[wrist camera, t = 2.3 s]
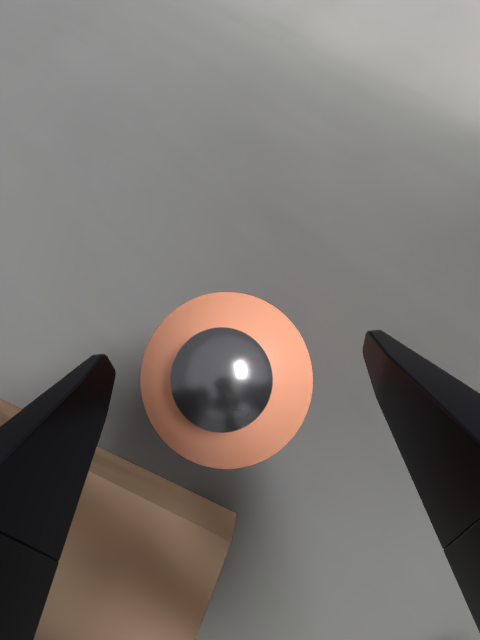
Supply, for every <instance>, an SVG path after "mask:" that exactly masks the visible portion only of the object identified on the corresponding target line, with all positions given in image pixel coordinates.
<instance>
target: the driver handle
mask: <svg viewBox="0 0 480 640" xmlns="http://www.w3.org/2000/svg"><path fill="white" fill-rule="evenodd" d="M140 381H141V394H142V400H143V404H144V407H145V411H146V413H147V415H148V418H149V420H150V422H151V424H152V426H153V427H154V429H155V431H156V432H157V433H158V435H159V436H160V437H161V439H162V440H163V441H164V442H165V443H166V444H167V445H168V446H169V447H170V448H171V449H173V450H174V451H175V452H177V453H178V454H179V455H181V456H182V457H184V458H186V459H188V460H190V461H192V462H194V463H197V464H199V465H202V466H206V467H211V468H217V469H237V468H242V467H248V466H251V465H254V464H257V463H260V462H261V461H263V460H265V459H267V458H269V457H271V456H272V455H274V454H275V453H277V452H278V451H280V450H281V449H282V448H283V447H284V446H285V445H286V444H287V443H288V442H289V441H290V440H291V439H292V437H293V436H294V435H295V434H296V433H297V431H298V429H299V428H300V426H301V424H302V423H303V421H304V418H305V416H306V414H307V411H308V408H309V405H310V401H311V396H312V389H313V373H312V364H311V360H310V356H309V353H308V350H307V347H306V345H305V342H304V340H303V339H302V337H301V335H300V333H299V332H298V330H297V329H296V327H295V326H294V325H293V323H292V322H291V321H290V320H289V319H288V318H287V317H286V316H285V315H284V314H283V313H282V312H281V311H279V310H278V309H277V308H276V307H274V306H272V305H271V304H269V303H267V302H266V301H263V300H261V299H259V298H257V297H254V296H250V295H247V294H242V293H236V292H218V293H211V294H207V295H202V296H200V297H197V298H194V299H192V300H190V301H188V302H186V303H184V304H182V305H181V306H180V307H178V308H177V309H175V310H174V311H173V312H172V313H170V314H169V315H168V316H167V317H166V318H165V319H164V320H163V322H162V323H161V324H160V325H159V326H158V328H157V329H156V331H155V332H154V334H153V335H152V337H151V339H150V341H149V343H148V345H147V348H146V351H145V354H144V357H143V362H142V366H141V376H140Z"/></svg>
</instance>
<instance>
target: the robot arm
mask: <svg viewBox="0 0 480 640" xmlns="http://www.w3.org/2000/svg"><path fill="white" fill-rule="evenodd" d="M363 356H364V360H365V363H366V366H367V370H368V373H369V376H370V379H371V383H372V386H373V389H374V392H375V395H376V398H377V400H378V403H379V405H380V407H381V410H382V412H383V414H384V416H385V419H386V421H387V423H388V425H389V428H390V430H391V432H392V435H393V437H394V439H395V441H396V444H397V446H398V448H399V450H400V453H401V455H402V457H403V459H404V462H405V464H406V466H407V469H408V471H409V473H410V475H411V478H412V480H413V482H414V484H415V487H416V489H417V491H418V493H419V496H420V498H421V500H422V503H423V505H424V507H425V509H426V512H427V514H428V516H429V518H430V521H431V523H432V525H433V527H434V530H435V532H436V534H437V537H438V539H439V541H440V543H441V546H442V548H443V549H444V553H445V555H446V557H447V560H448V562H449V564H450V566H451V569H452V571H453V573H454V575H455V578H456V580H457V582H458V585H459V587H460V589H461V591H462V594H463V596H464V598H465V600H466V603H467V605H468V607H469V610H470V612H471V614H472V616H473V619H474V621H475V623H476V625H477V628H478V630H479V632H480V393H478V392H477V391H475V390H474V389H472V388H470V387H469V386H467V385H466V384H464V383H463V382H461V381H459V380H458V379H456V378H455V377H453V376H452V375H450V374H449V373H447V372H445V371H444V370H442V369H441V368H439V367H438V366H436V365H435V364H433V363H431V362H430V361H428V360H427V359H425V358H424V357H422V356H420V355H419V354H417V353H416V352H414V351H413V350H411V349H410V348H408V347H406V346H405V345H403V344H402V343H400V342H399V341H397V340H395V339H394V338H392V337H391V336H389V335H388V334H386V333H385V332H383V331H381V330H372V331H368V332H367V333H366V335H365V340H364V345H363ZM114 380H115V369H114V367H113V365H112V364H111V362H110V360H109V359H108V357H107V356H106V355H105V354H97V355H92V356H91V357H90V358H88V359H87V360H86V361H84V362H83V363H82V364H80V365H79V366H78V367H77V368H75V369H74V370H73V371H71V372H70V373H69V374H68V375H66V376H65V377H64V378H62V379H61V380H60V381H58V382H57V383H56V384H55V385H53V386H52V387H51V388H49V389H48V390H47V391H46V392H44V393H43V394H42V395H40V396H39V397H38V398H36V399H35V400H34V401H33V402H31V403H30V404H29V405H27V406H26V407H25V408H24V409H22V410H21V411H20V412H18V413H17V414H16V415H14V416H13V417H12V418H11V419H9V420H8V421H7V422H5V423H4V424H3V425H1V426H0V640H34V637H35V634H36V631H37V628H38V625H39V622H40V619H41V616H42V612H43V609H44V606H45V603H46V600H47V597H48V594H49V591H50V588H51V585H52V582H53V579H54V576H55V573H56V570H57V567H58V564H59V560H60V557H61V554H62V551H63V548H64V545H65V542H66V539H67V536H68V533H69V530H70V527H71V524H72V520H73V517H74V514H75V511H76V508H77V505H78V502H79V499H80V496H81V493H82V490H83V487H84V484H85V481H86V478H87V475H88V472H89V469H90V466H91V463H92V460H93V456H94V453H95V450H96V447H97V444H98V441H99V438H100V435H101V432H102V429H103V426H104V423H105V420H106V416H107V413H108V409H109V404H110V399H111V394H112V390H113V385H114Z"/></svg>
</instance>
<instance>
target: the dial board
mask: <svg viewBox="0 0 480 640" xmlns="http://www.w3.org/2000/svg"><path fill="white" fill-rule="evenodd" d="M21 410H22V409H20V408H17V407H15V406H13V405H11V404H9V403H7V402H5V401H3V400H1V399H0V426H1V425H3V424H4V423H5V422H7V421H8V420H9V419H11V418H12V417H13V416H14V415H16V414H17V413H18V412H20V411H21ZM236 514H237V513H235V512H233V511H231V510H228V509H226V508H224V507H222V506H220V505H218V504H216V503H214V502H212V501H210V500H208V499H206V498H204V497H202V496H200V495H197V494H195V493H193V492H191V491H189V490H187V489H185V488H183V487H181V486H179V485H177V484H175V483H173V482H171V481H168V480H166V479H164V478H162V477H160V476H158V475H156V474H154V473H152V472H150V471H148V470H146V469H144V468H142V467H140V466H137V465H135V464H133V463H131V462H129V461H127V460H125V459H123V458H121V457H119V456H117V455H115V454H113V453H111V452H108V451H106V450H104V449H102V448H100V447H98V446H97V447H96V450H95V453H94V456H93V460H92V463H91V466H90V469H89V472H88V475H87V478H86V481H85V484H84V487H83V490H82V493H81V496H80V499H79V502H78V505H77V508H76V511H75V514H74V517H73V520H72V524H71V527H70V530H69V533H68V536H67V539H66V542H65V545H64V548H63V551H62V554H61V557H60V560H59V564H58V567H57V570H56V573H55V576H54V579H53V582H52V585H51V588H50V591H49V594H48V597H47V600H46V603H45V606H44V609H43V612H42V616H41V619H40V622H39V625H38V628H37V631H36V634H35V637H34V640H195V638H196V636H197V633H198V630H199V628H200V625H201V622H202V620H203V617H204V614H205V612H206V609H207V606H208V604H209V601H210V598H211V596H212V593H213V590H214V588H215V585H216V582H217V580H218V577H219V574H220V572H221V569H222V566H223V564H224V561H225V558H226V556H227V553H228V550H229V548H230V545H231V542H232V537H233V531H234V525H235V519H236Z"/></svg>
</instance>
